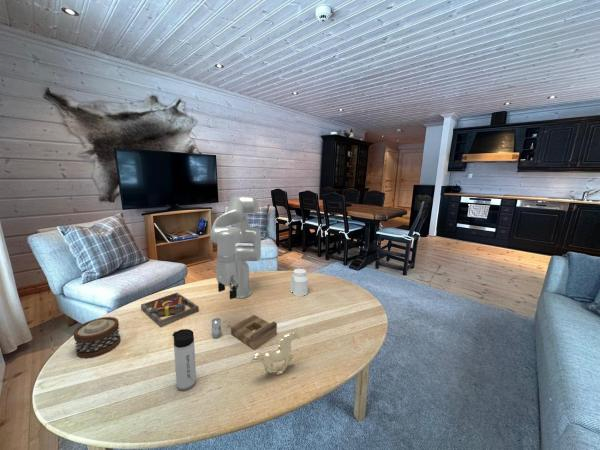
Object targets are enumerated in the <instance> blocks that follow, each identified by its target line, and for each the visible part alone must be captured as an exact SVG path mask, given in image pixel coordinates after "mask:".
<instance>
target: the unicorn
mask: <svg viewBox="0 0 600 450" xmlns="http://www.w3.org/2000/svg"><path fill="white" fill-rule="evenodd" d="M297 331H298V326H297V327H296V329H295V331H294V330H293V329H291V332H288V333H286V334H285V335H283V336H282V338H281V339H279V341H278V343H277V345H276V348H277V349H276V350H273V351H270V350H269V351H265V352H264V353H263V352H257V353H255V354H254V355H253V356H252V357H251V360H250V362H249V364H251V365H252V364H255V363H261V364H262V365H263V369H264V371H265V372H266V373H269V374H272V373H276V375H277V376H279V375H282V374H283V372H285V370H286V369H287V367H288V366H289V365H290V364H291V362H292V361H293V359H294V354H292V353H291V352H292V341H293V340H300V338H301V335H299V334H297ZM282 361H284V362H283V367H282V368H281V369H280V370H278V369H274V368H273V367H274V363H279V362H282Z"/></svg>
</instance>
